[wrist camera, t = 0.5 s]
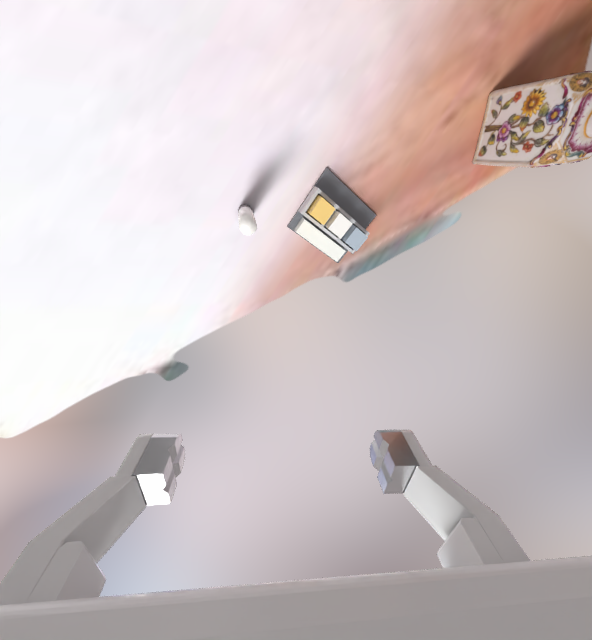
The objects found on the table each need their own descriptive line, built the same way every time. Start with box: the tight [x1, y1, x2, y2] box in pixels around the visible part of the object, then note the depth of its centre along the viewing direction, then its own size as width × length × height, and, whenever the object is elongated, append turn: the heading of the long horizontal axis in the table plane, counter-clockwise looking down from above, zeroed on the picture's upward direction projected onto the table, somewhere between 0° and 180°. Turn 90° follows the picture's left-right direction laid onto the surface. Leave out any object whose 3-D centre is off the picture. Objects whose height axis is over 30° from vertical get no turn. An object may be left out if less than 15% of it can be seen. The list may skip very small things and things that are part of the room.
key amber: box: [307, 195, 335, 225], centre depth 48 cm, size 4×4×3 cm
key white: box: [324, 210, 352, 239], centre depth 50 cm, size 4×4×3 cm
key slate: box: [341, 225, 368, 251], centre depth 52 cm, size 4×4×3 cm
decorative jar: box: [473, 71, 592, 168], centre depth 42 cm, size 12×12×18 cm
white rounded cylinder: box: [238, 204, 257, 235], centre depth 44 cm, size 3×3×11 cm
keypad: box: [287, 168, 376, 263], centre depth 52 cm, size 13×15×3 cm
